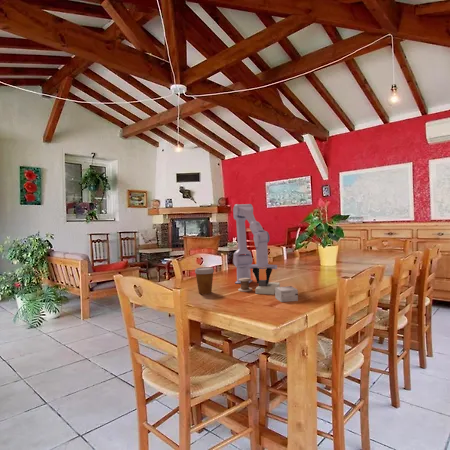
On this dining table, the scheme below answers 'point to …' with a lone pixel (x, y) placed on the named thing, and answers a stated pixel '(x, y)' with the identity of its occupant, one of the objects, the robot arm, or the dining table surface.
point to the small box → (286, 294)
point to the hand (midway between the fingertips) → (262, 283)
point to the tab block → (262, 283)
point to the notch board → (267, 288)
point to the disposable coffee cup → (204, 279)
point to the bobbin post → (244, 285)
